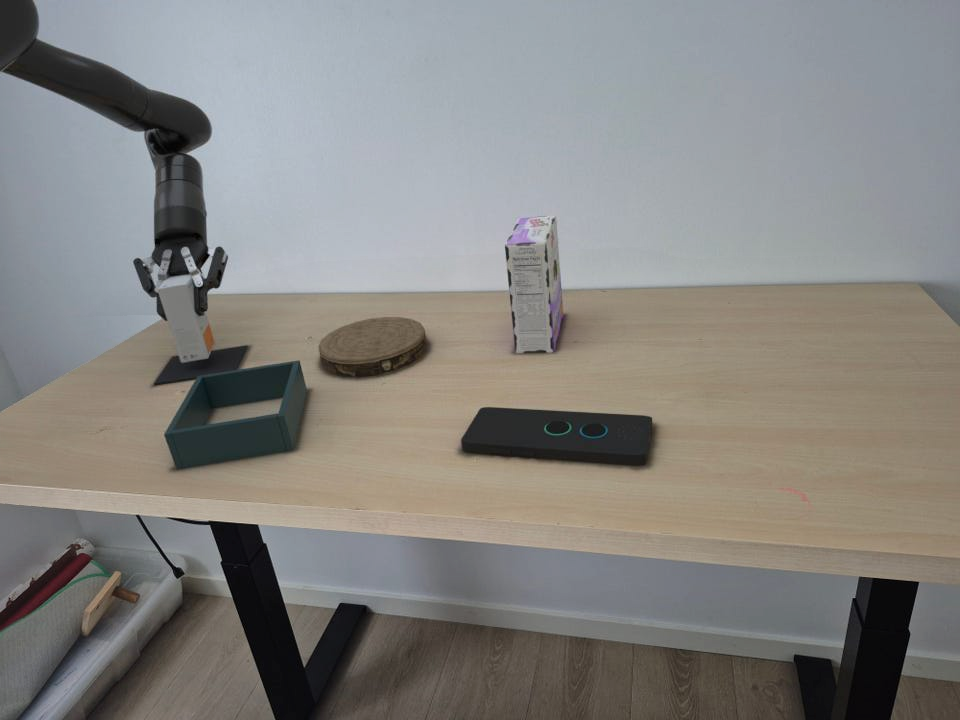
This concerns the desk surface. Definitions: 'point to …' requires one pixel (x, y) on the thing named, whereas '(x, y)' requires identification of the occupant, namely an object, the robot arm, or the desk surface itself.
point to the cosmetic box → (185, 319)
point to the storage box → (243, 436)
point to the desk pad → (202, 365)
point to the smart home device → (560, 435)
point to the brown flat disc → (373, 347)
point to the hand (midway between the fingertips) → (182, 315)
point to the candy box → (534, 284)
